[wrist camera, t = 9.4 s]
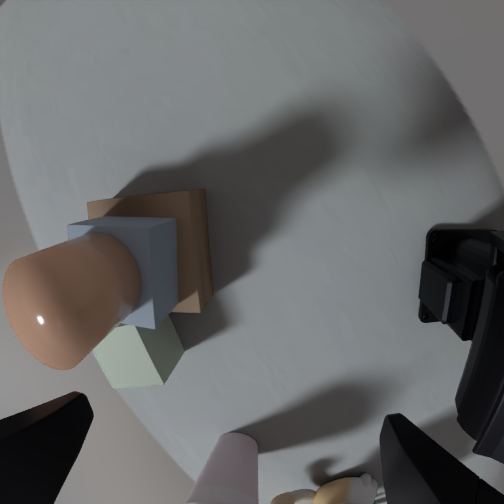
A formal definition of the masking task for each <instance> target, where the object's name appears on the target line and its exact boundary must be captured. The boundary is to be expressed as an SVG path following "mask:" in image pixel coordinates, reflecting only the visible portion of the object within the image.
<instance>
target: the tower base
mask: <svg viewBox="0 0 504 504" xmlns="http://www.w3.org/2000/svg"><path fill="white" fill-rule="evenodd" d="M87 209H88V219H93V218H98V217H102V216H114V217H154V218H177V273H178V298H179V304H178V305H177V306H176V307H175V308H174V309H173V310H172V311H171V312H186V313H201V311H202V310H203V308H204V307H205V306H206V304H207V303H208V301H209V300H210V298H211V297H212V296H213V284H212V273H211V262H210V250H209V238H208V225H207V211H206V196H205V189H199V190H187V191H175V192H165V193H155V194H145V195H136V196H127V197H119V198H111V199H104V200H97V201H91V202H87Z"/></svg>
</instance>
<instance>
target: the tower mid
mask: <svg viewBox="0 0 504 504" xmlns="http://www.w3.org/2000/svg"><path fill="white" fill-rule="evenodd" d="M67 231H68V240H71V239H74V238H77V237H80V236H83V235H86V234H89V233H93V232H102V233H106V234H109V235H111V236H113V237H115V238H117V239H118V240H120V241H121V242H122V243H123V244H124V245H125V246H126V247H127V248H128V249H129V251H130V252H131V253H132V255H133V256H134V258H135V260H136V262H137V264H138V267H139V270H140V274H141V280H142V292H141V297H140V301H139V303H138V305H137V307H136V308H135V310H134V311H133V312H132V313H131V314H130V315H129V316H128V317H127V318H125V319H124V320H123V321H122V322H121V323H122V324H127V325H133V326H139V327H144V328H150V329H156V328H157V327H158V326H159V325H160V323H161V322H162V321H163V320H164V319H165V318H166V317H167V316H168V315H169V313H170V312H171V311H172V310H173V309H174V308H175V307H176V306H177V305H178V304H179V298H178V273H177V218H154V217H114V216H102V217H98V218H93V219H89V220H85V221H81V222H77V223H73V224H69V225H67Z"/></svg>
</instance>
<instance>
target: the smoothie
mask: <svg viewBox="0 0 504 504" xmlns="http://www.w3.org/2000/svg"><path fill="white" fill-rule="evenodd" d="M184 504H258V445H257V443H256V441H255V440H254V439H253V438H251V437H250V436H248V435H245V434H242V433H226V434H224V435H222V436H221V437H220V438H219V439H218V441H217V443H216V445H215V447H214V449H213V451H212V453H211V455H210V457H209V458H208V460H207V462H206V464H205V466H204V468H203V470H202V472H201V474H200V475H199V477H198V479H197V481H196V483H195V485H194V487H193V488H192V490H191V492H190V494H189V496H188V497H187V499H186V501H185V503H184Z"/></svg>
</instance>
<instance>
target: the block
mask: <svg viewBox="0 0 504 504" xmlns="http://www.w3.org/2000/svg"><path fill="white" fill-rule="evenodd" d="M92 351H93V353H94V355H95V357H96V359H97V361H98V362H99V364H100V366H101V368H102V370H103V372H104V373H105V375H106V377H107V379H108V381H109V382H110V384H111V386H112V387H113V389H114V388H130V387H143V386H154V385H164V384H165V382H166V381H167V379H168V377H169V376H170V374H171V373H172V371H173V369H174V368H175V366H176V365H177V363H178V361H179V360H180V358H181V357H182V355H183V353H184V352H185V350H184V348H183V346H182V343H181V341H180V339H179V337H178V335H177V332H176V330H175V328H174V325H173V323H172V321H171V318H170V316H169V315H168V316H167V317H166V318H165V319H164V320H163V321H162V322H161V323H160V325H159V326H158V327H157V328H156V329H150V328H144V327H139V326H133V325H127V324H122V323H120V324H119V325H118V326H117V327H116V328H115V329H114V330H113V331H112V332H111V333H110V334H109V335H107V336H106V337H105V338H104V339H103V340H102V341H101V342H100V343H99V344H98V345H97V346H96V347H95V348H94V349H93V350H92Z"/></svg>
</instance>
